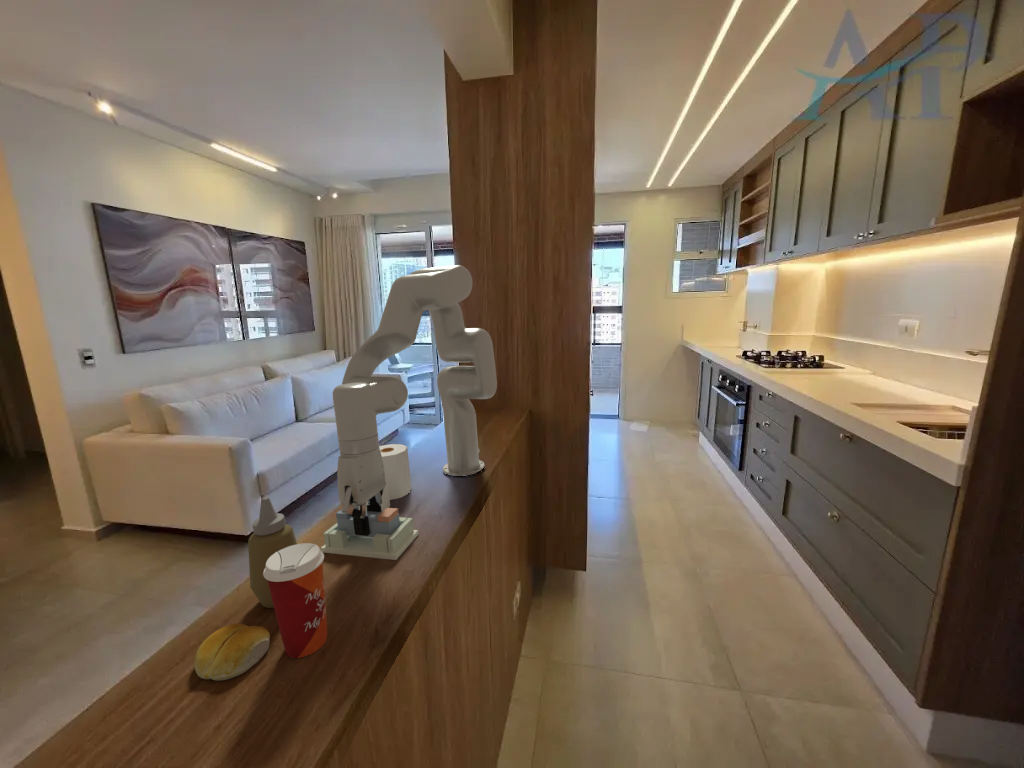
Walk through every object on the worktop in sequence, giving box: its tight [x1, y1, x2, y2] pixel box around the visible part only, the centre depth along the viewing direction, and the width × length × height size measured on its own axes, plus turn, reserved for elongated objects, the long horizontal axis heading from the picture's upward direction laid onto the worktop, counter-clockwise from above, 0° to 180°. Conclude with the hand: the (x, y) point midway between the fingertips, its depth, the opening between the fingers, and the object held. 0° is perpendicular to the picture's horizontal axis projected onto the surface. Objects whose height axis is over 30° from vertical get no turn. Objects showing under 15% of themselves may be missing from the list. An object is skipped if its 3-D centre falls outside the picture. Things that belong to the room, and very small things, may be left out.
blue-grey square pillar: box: [335, 506, 400, 537], centre depth 86 cm, size 4×12×5 cm, turn 76°
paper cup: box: [263, 542, 328, 659], centre depth 60 cm, size 8×8×14 cm
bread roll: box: [194, 623, 271, 681], centre depth 59 cm, size 8×9×4 cm
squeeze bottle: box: [247, 497, 298, 609], centre depth 70 cm, size 8×8×18 cm
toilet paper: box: [379, 443, 412, 501], centre depth 111 cm, size 10×10×12 cm
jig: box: [320, 516, 419, 561], centre depth 87 cm, size 10×17×4 cm, turn 76°
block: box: [358, 484, 391, 512], centre depth 100 cm, size 9×4×6 cm, turn 165°
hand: (369, 527), depth 86 cm, fingers closed on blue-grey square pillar, 4 cm apart
